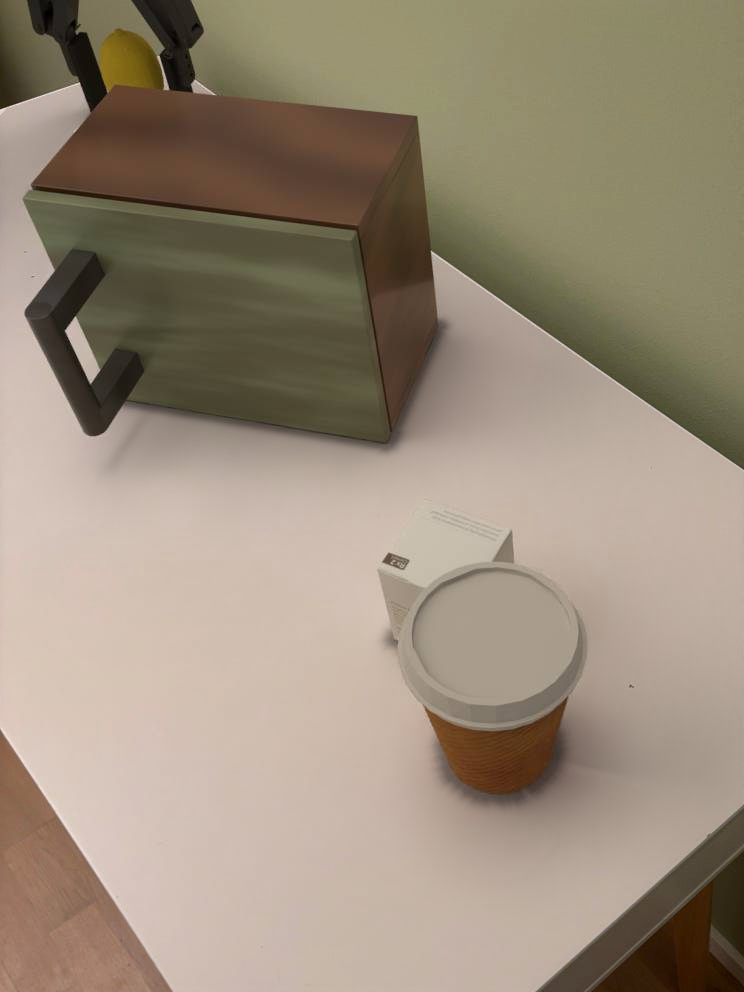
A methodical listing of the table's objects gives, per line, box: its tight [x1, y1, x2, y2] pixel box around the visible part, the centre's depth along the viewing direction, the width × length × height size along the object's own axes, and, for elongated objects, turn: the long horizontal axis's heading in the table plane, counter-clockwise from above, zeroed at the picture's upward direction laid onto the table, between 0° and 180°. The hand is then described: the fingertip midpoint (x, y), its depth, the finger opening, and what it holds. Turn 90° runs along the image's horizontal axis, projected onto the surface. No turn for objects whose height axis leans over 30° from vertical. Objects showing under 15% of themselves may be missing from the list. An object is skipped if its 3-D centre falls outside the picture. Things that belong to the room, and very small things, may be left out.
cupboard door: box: [21, 189, 392, 444], centre depth 68 cm, size 8×22×17 cm, turn 75°
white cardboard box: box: [376, 498, 515, 642], centre depth 63 cm, size 6×6×7 cm
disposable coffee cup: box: [396, 562, 589, 795], centre depth 56 cm, size 10×10×12 cm
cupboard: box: [30, 85, 439, 433], centre depth 73 cm, size 12×22×17 cm, turn 75°
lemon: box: [99, 27, 165, 92], centre depth 98 cm, size 6×6×8 cm
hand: (144, 112), depth 101 cm, fingers open, 9 cm apart
